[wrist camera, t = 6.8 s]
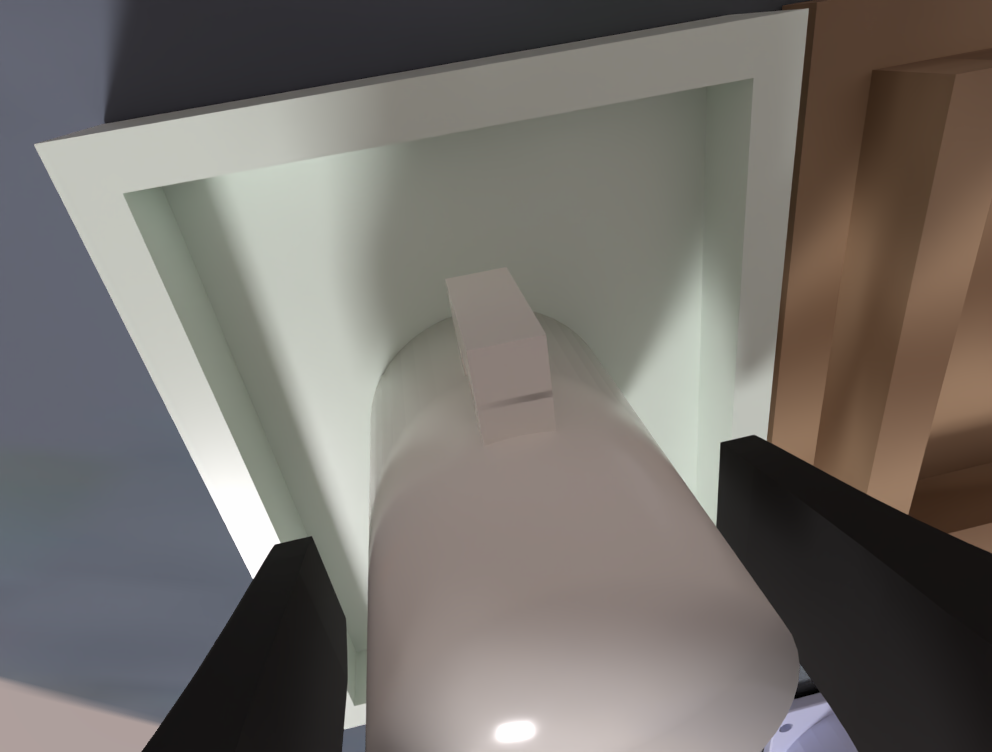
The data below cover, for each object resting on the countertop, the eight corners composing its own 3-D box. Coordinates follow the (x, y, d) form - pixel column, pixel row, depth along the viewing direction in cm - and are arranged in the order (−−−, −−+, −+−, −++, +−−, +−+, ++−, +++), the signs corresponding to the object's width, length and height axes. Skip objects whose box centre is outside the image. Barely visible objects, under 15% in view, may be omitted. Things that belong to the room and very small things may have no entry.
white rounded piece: (612, 484, 15) (777, 792, 9) (400, 533, 14) (417, 893, 8) (597, 215, 11) (848, 410, 5) (321, 267, 11) (254, 542, 5)
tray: (707, 562, 18) (748, 626, 16) (336, 652, 17) (330, 732, 15) (730, 14, 11) (808, 8, 9) (102, 124, 10) (34, 144, 8)
